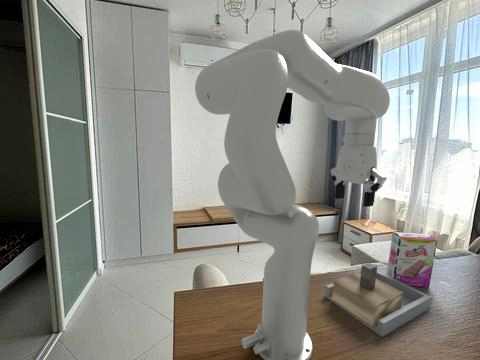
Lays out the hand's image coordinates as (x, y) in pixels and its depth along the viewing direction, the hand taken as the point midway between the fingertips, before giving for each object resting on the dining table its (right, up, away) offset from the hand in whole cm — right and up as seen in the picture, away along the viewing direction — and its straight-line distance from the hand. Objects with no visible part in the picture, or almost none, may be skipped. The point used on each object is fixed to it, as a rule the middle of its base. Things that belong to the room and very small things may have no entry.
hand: (352, 202), depth 71 cm
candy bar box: (+22, -27, +10) cm, 37 cm away
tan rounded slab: (+2, -29, -3) cm, 29 cm away
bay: (+6, -28, 0) cm, 29 cm away
